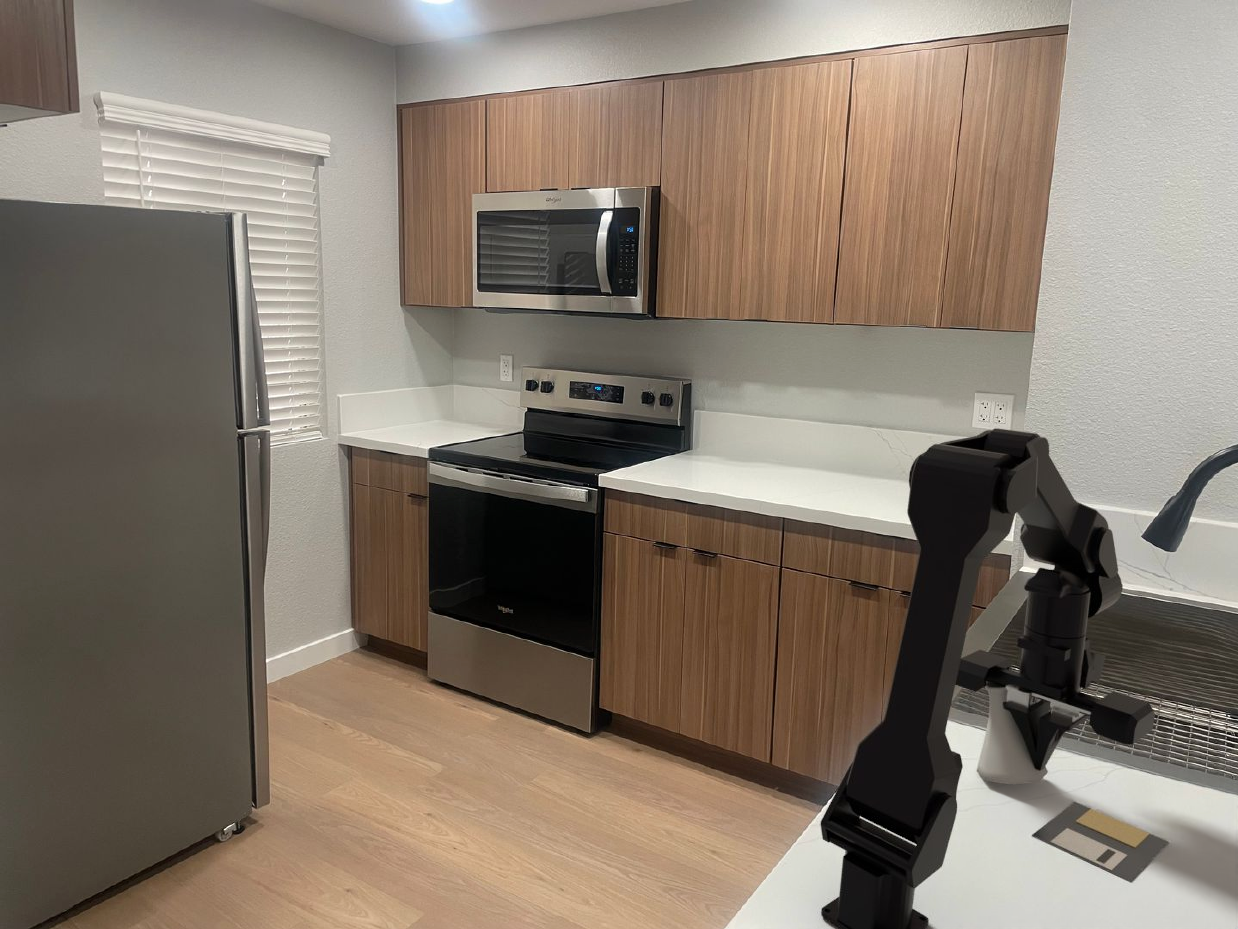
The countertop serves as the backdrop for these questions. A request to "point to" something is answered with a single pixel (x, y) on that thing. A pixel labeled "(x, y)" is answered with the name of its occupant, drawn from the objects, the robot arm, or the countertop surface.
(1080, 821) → the floppy disk
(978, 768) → the flask
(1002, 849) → the countertop surface
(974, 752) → the countertop surface
